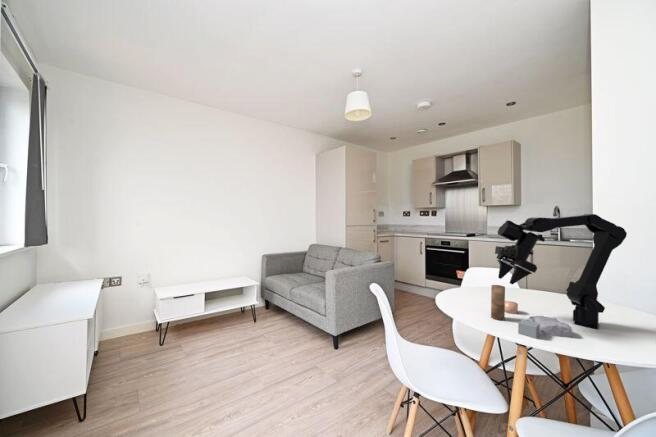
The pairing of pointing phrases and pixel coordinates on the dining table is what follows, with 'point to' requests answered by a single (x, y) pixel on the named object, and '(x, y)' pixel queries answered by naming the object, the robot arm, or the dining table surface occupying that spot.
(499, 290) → the walnut post
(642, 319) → the dining table surface
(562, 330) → the stone block
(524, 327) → the grey faceted polyhedron
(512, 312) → the peach rounded knob part
